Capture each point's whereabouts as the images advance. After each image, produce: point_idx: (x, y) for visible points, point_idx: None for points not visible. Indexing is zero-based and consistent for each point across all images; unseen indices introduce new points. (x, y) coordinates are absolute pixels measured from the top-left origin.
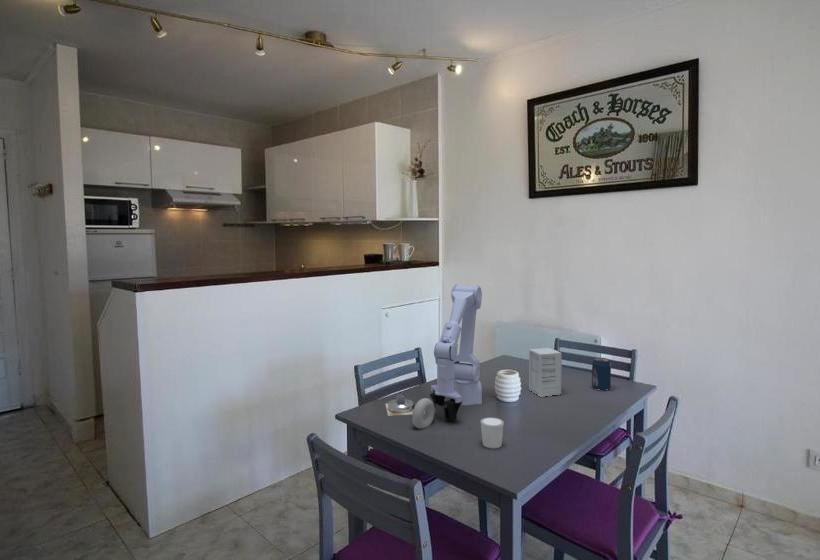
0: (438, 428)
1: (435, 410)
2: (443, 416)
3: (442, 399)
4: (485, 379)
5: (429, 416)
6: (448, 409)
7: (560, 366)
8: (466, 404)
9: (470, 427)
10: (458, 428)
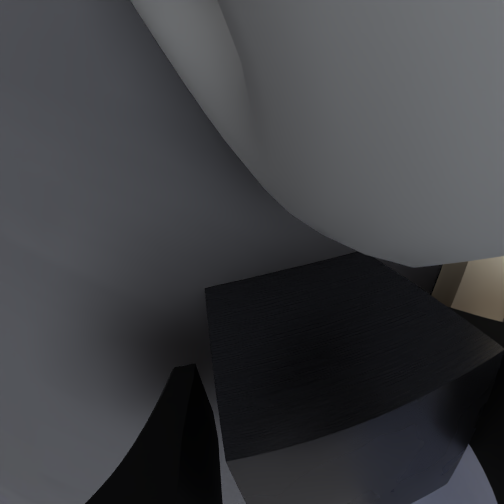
0: (155, 194)
1: (480, 314)
2: (235, 338)
3: (492, 448)
4: None
5: (230, 67)
6: (152, 480)
7: None
8: None
9: (107, 444)
10: (101, 375)
